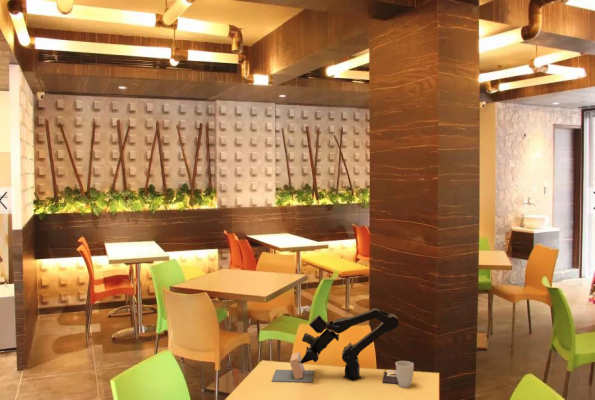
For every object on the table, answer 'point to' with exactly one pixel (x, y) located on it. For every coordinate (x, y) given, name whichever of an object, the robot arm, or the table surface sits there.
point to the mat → (292, 376)
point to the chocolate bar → (390, 377)
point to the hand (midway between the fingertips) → (301, 362)
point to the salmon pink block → (297, 365)
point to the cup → (404, 373)
